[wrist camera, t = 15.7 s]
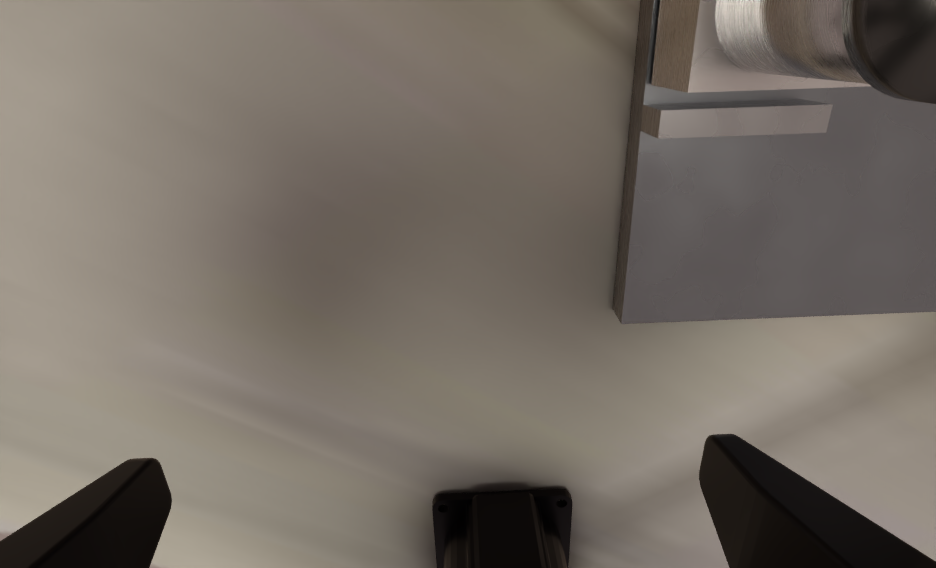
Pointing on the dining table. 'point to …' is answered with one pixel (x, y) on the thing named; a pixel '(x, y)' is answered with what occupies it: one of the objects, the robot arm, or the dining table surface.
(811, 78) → the ram
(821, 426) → the dining table surface
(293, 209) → the dining table surface
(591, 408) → the dining table surface
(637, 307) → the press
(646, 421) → the dining table surface
